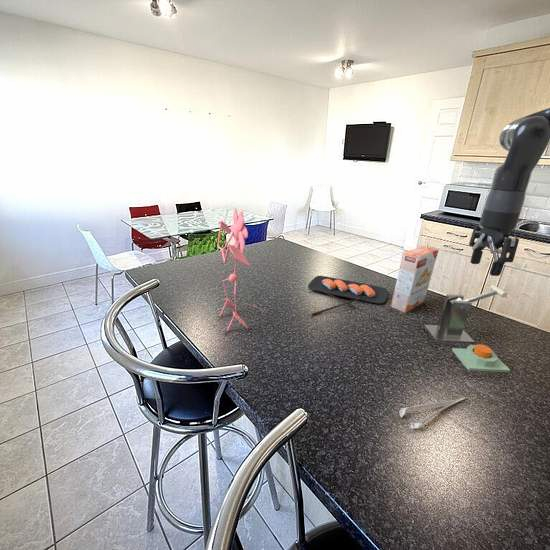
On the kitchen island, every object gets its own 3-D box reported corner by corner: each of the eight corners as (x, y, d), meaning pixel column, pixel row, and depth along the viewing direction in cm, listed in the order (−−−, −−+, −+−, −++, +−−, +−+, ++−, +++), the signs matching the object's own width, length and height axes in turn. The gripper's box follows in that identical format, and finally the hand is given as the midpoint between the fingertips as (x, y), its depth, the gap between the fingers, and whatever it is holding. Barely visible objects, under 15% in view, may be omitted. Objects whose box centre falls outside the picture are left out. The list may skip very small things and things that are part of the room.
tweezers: (414, 432, 57) (417, 424, 56) (397, 413, 61) (399, 406, 60) (473, 410, 64) (476, 403, 63) (454, 395, 68) (456, 388, 67)
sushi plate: (388, 292, 114) (389, 283, 112) (378, 332, 89) (380, 321, 87) (316, 278, 125) (317, 270, 123) (290, 310, 100) (290, 300, 98)
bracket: (458, 329, 91) (470, 293, 86) (473, 345, 84) (487, 306, 79) (423, 328, 91) (432, 291, 86) (434, 343, 84) (446, 304, 79)
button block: (487, 354, 80) (492, 344, 79) (508, 375, 73) (512, 364, 71) (450, 353, 80) (454, 342, 79) (467, 373, 73) (471, 362, 71)
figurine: (231, 348, 80) (226, 221, 66) (212, 305, 102) (204, 203, 88) (282, 336, 86) (287, 217, 72) (253, 297, 107) (253, 200, 93)
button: (484, 349, 77) (486, 344, 76) (493, 359, 73) (495, 353, 73) (470, 349, 77) (472, 343, 76) (478, 358, 74) (480, 352, 73)
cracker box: (406, 316, 98) (419, 257, 90) (389, 308, 102) (401, 252, 94) (425, 303, 106) (439, 249, 98) (409, 297, 110) (422, 244, 102)
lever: (495, 289, 84) (494, 282, 83) (507, 297, 79) (506, 290, 78) (448, 305, 86) (447, 298, 85) (457, 313, 82) (456, 306, 81)
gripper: (540, 214, 66) (517, 280, 72) (498, 203, 79) (482, 260, 85) (506, 214, 66) (486, 279, 72) (470, 203, 79) (455, 259, 85)
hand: (483, 269), depth 79 cm, fingers open, 8 cm apart
